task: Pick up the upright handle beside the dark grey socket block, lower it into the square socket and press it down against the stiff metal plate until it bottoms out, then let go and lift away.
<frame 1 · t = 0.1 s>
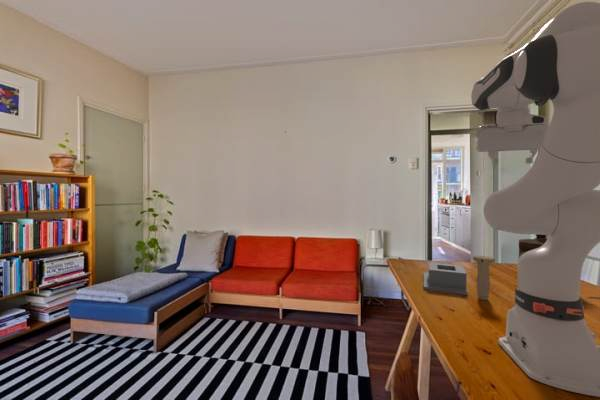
hand: (511, 164, 94), 48 cm above the table, tool pointing down, fingers open, 8 cm apart
socket block: (446, 284, 116), on the table
plunger plate: (446, 273, 116), point 5 cm above the table, slide at 0.0 cm
handle: (482, 299, 101), on the table
wooden container: (540, 285, 117), on the table
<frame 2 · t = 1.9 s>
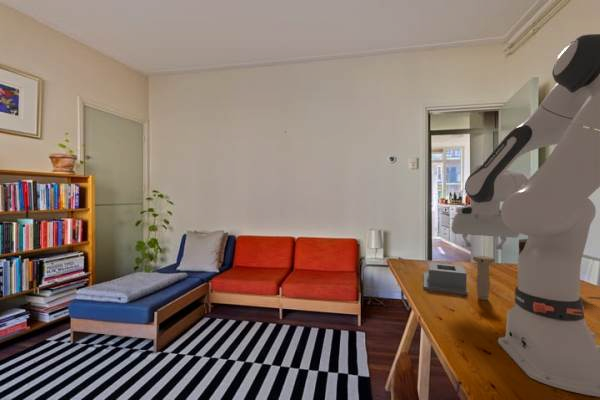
hand: (483, 247, 101), 18 cm above the table, tool pointing down, fingers open, 8 cm apart
nothing on the table moved.
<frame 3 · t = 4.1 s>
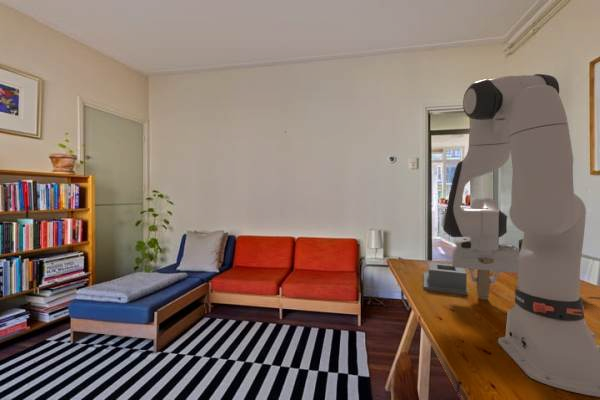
hand: (483, 282, 101), 6 cm above the table, tool pointing down, fingers closed on handle, 4 cm apart
handle: (482, 299, 101), on the table, touching gripper
everything else where it was.
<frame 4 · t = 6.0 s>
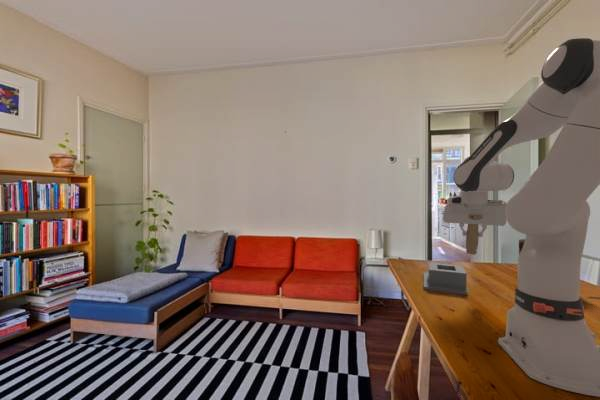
hand: (472, 236, 105), 22 cm above the table, tool pointing down, fingers closed on handle, 4 cm apart
handle: (471, 254, 106), point 15 cm above the table, touching gripper
everything else where it was.
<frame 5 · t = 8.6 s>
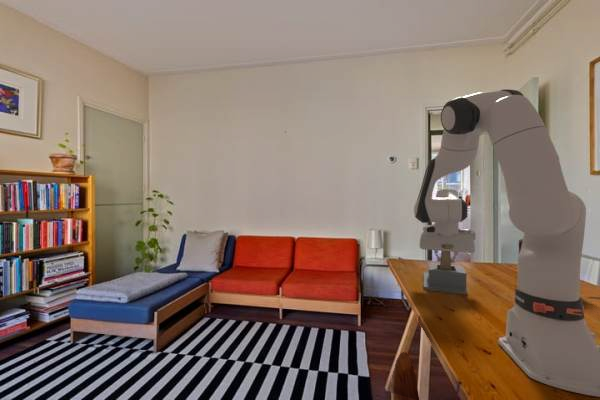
hand: (445, 261, 116), 10 cm above the table, tool pointing down, fingers open, 4 cm apart
plunger plate: (446, 280, 116), point 2 cm above the table, slide at 3.0 cm, touching handle, socket block
handle: (445, 280, 116), point 2 cm above the table, touching gripper, plunger plate
everything else where it was.
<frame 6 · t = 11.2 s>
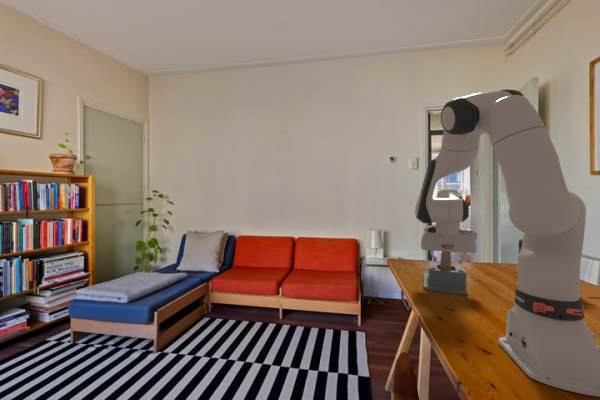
hand: (447, 262, 116), 10 cm above the table, tool pointing down, fingers open, 8 cm apart
handle: (445, 280, 116), point 2 cm above the table, touching plunger plate
everything else where it was.
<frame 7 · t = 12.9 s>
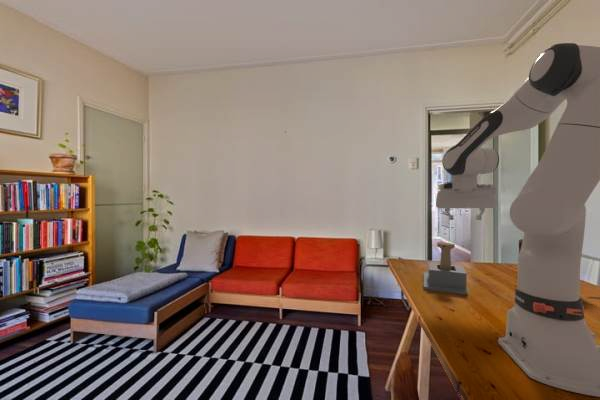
hand: (464, 219, 110), 28 cm above the table, tool pointing down, fingers open, 8 cm apart
nothing on the table moved.
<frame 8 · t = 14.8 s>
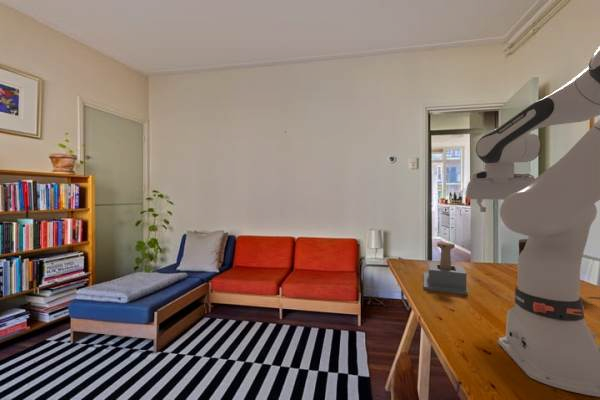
hand: (498, 212, 102), 31 cm above the table, tool pointing down, fingers open, 8 cm apart
nothing on the table moved.
at the end: plunger plate slide at 3.0 cm; handle 0.3 cm off-centre on the socket block, point 2.0 cm above the socket block's base; handle tilted 0° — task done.
